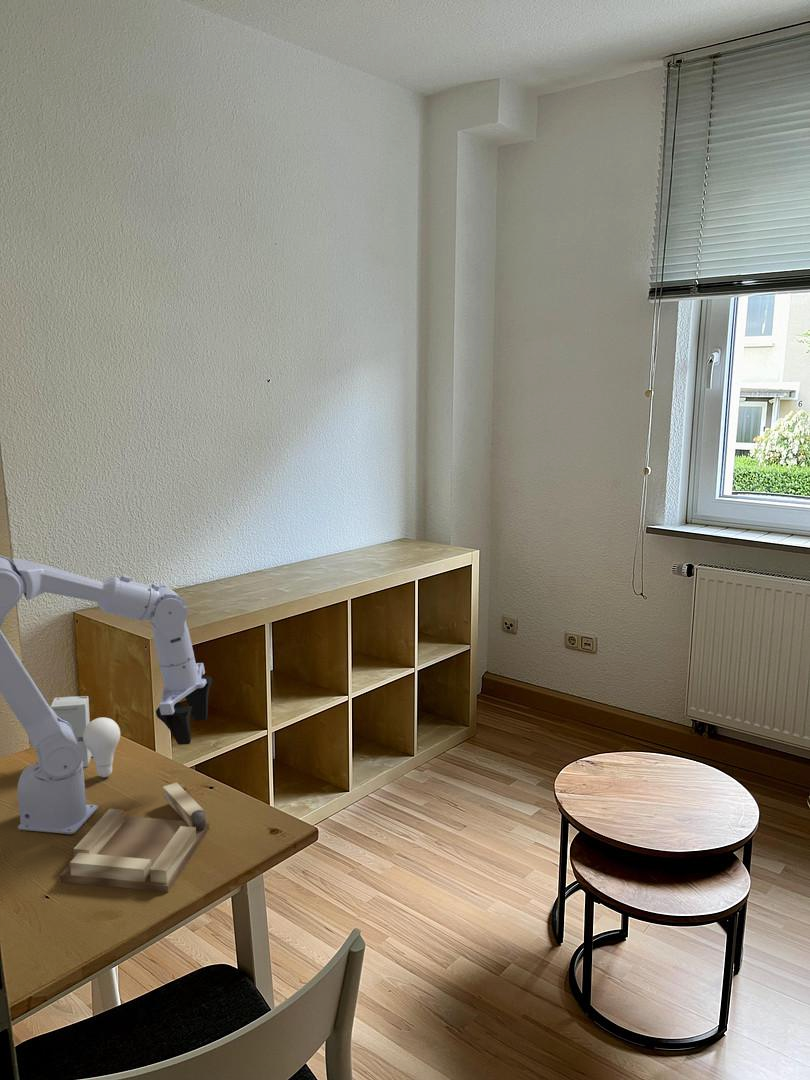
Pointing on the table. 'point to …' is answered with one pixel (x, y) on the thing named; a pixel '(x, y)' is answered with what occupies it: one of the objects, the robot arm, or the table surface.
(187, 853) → the stool seat
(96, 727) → the lightbulb
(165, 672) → the robot arm
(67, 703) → the skincare box
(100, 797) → the table surface
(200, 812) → the hinged leg
